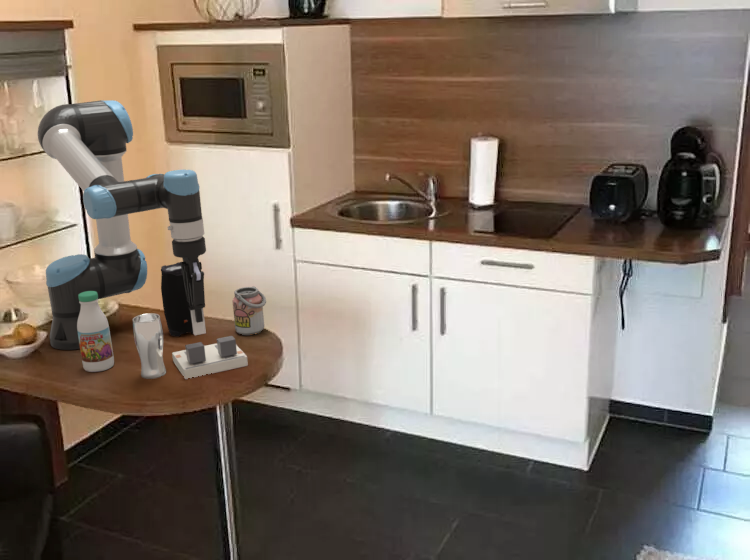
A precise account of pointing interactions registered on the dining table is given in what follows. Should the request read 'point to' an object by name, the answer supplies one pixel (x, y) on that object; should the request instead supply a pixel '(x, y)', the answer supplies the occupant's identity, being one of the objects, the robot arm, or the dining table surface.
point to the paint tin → (248, 310)
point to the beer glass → (149, 344)
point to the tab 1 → (195, 352)
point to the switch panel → (209, 362)
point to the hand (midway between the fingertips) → (199, 333)
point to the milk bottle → (94, 334)
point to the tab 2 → (226, 346)
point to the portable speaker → (175, 300)
